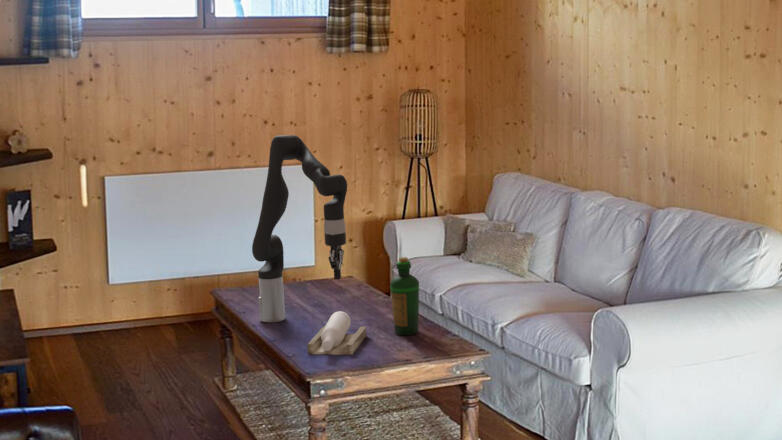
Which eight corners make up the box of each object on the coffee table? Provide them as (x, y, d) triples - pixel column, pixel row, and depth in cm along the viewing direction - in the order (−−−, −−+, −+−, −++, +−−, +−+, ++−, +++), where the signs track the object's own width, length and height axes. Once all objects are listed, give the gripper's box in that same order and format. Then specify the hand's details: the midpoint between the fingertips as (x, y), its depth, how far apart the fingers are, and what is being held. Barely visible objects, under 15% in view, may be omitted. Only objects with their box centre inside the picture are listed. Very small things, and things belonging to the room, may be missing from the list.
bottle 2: (391, 329, 402) (387, 256, 397) (419, 327, 403) (416, 254, 398) (393, 337, 392) (389, 262, 387) (422, 335, 392) (419, 260, 387)
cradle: (308, 354, 377) (307, 344, 377) (324, 335, 398) (323, 326, 398) (352, 354, 374) (352, 344, 373) (366, 336, 395) (366, 326, 395)
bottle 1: (355, 319, 398) (342, 344, 369) (342, 335, 400) (329, 361, 371) (338, 306, 398) (324, 330, 369) (325, 322, 400) (310, 347, 371)
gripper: (329, 227, 391) (332, 274, 394) (319, 235, 378) (322, 283, 381) (349, 227, 389) (352, 274, 393) (340, 234, 377) (343, 283, 380)
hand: (337, 278), depth 387 cm, fingers closed
